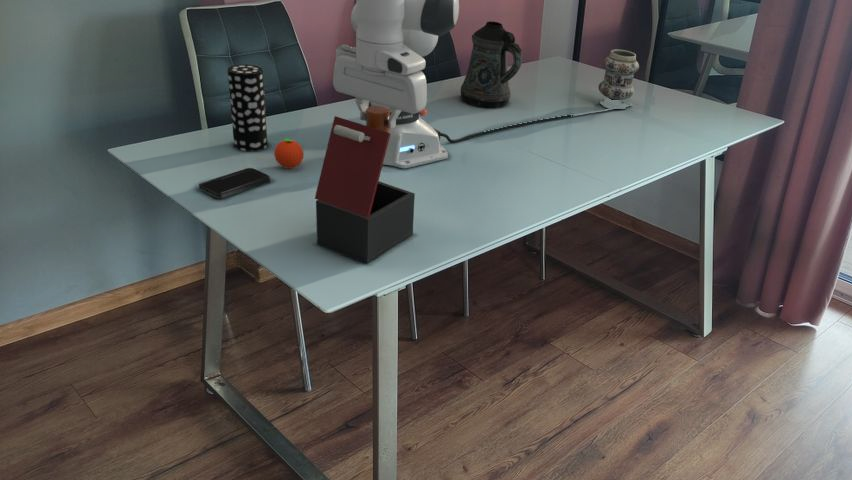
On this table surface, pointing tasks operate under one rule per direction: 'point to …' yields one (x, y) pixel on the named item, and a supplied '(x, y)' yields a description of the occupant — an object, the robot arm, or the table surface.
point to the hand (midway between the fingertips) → (378, 123)
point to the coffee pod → (377, 117)
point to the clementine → (288, 153)
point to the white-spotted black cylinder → (247, 107)
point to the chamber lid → (352, 166)
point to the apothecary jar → (619, 75)
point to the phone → (234, 183)
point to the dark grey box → (367, 225)
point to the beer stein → (490, 67)
